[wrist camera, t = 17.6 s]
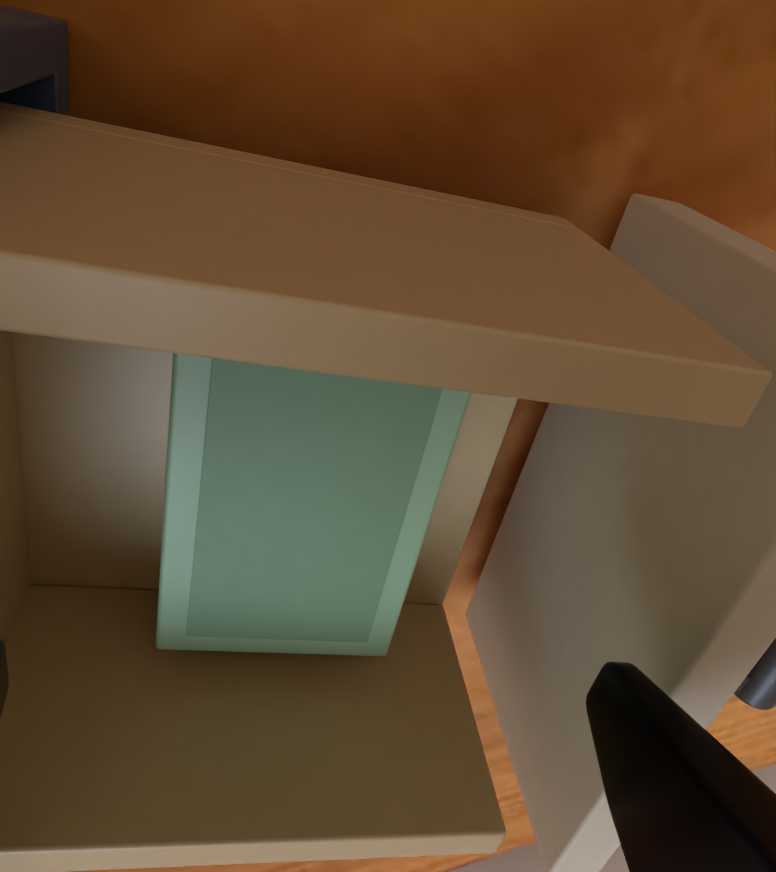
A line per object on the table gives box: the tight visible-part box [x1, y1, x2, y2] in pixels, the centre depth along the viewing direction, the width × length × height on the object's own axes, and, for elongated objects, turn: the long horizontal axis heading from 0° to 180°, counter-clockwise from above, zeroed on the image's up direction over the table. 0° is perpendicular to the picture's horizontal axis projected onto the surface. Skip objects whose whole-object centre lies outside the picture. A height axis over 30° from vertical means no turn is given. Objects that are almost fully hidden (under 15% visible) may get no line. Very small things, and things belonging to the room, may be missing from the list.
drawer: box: [0, 102, 776, 872], centre depth 13 cm, size 18×12×7 cm
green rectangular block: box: [156, 353, 471, 656], centre depth 13 cm, size 5×8×3 cm, turn 167°
